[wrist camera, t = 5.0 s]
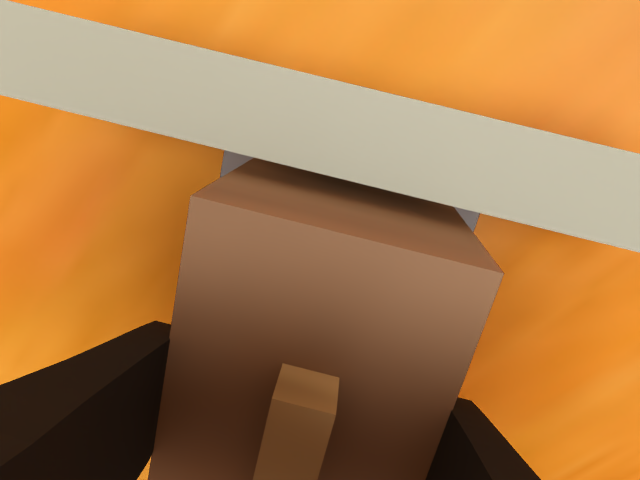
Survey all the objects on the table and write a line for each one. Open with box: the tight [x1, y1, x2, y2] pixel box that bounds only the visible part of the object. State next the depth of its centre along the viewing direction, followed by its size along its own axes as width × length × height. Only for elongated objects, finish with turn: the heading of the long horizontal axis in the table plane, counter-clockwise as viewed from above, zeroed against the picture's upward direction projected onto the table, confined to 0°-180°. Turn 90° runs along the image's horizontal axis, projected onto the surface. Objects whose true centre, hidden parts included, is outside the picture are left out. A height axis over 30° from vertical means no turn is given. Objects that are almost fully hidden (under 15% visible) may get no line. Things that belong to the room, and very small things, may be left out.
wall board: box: [0, 0, 640, 252], centre depth 14 cm, size 9×16×7 cm, turn 77°
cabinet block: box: [148, 158, 504, 480], centre depth 11 cm, size 8×5×7 cm, turn 167°
